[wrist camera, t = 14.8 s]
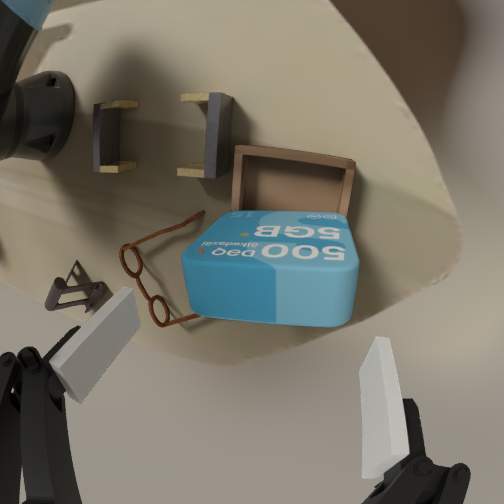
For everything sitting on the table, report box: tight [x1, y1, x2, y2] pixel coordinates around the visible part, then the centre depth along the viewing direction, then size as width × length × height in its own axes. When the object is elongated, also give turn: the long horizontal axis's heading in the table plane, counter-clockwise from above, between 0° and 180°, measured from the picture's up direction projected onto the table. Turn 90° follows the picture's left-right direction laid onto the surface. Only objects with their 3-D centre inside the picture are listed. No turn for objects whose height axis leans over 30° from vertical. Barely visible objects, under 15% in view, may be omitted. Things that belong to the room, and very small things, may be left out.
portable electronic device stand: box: [45, 260, 107, 313], centre depth 39 cm, size 9×8×8 cm
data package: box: [181, 211, 360, 327], centre depth 23 cm, size 12×4×12 cm, turn 93°
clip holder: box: [93, 93, 233, 179], centre depth 28 cm, size 9×16×4 cm, turn 85°
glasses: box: [119, 210, 206, 327], centre depth 35 cm, size 13×13×5 cm
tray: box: [231, 144, 356, 217], centre depth 29 cm, size 16×12×3 cm
